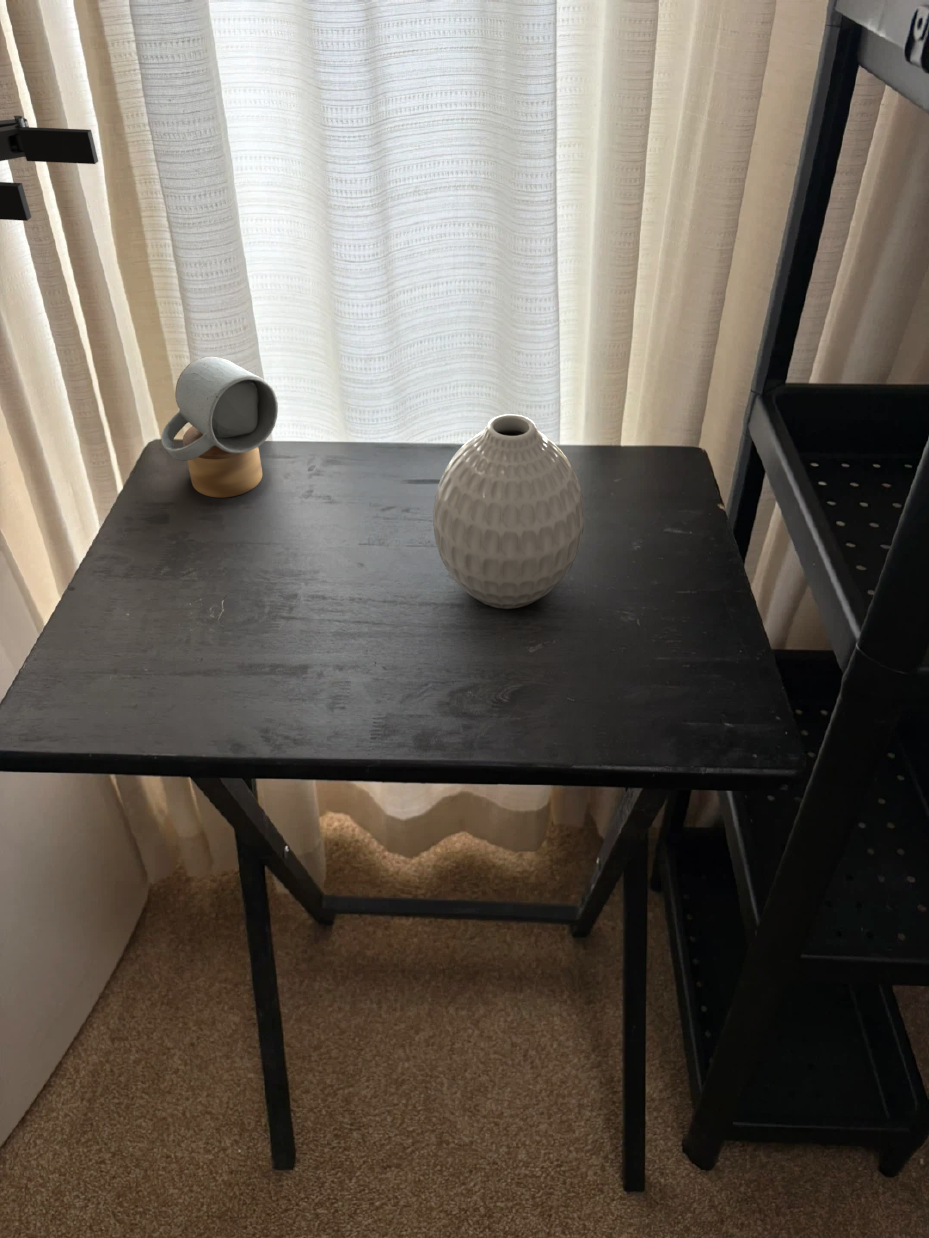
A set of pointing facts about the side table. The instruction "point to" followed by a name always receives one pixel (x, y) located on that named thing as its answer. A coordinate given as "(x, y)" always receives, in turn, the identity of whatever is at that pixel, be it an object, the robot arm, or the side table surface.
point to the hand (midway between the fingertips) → (61, 173)
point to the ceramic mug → (221, 408)
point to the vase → (508, 514)
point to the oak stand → (223, 469)
